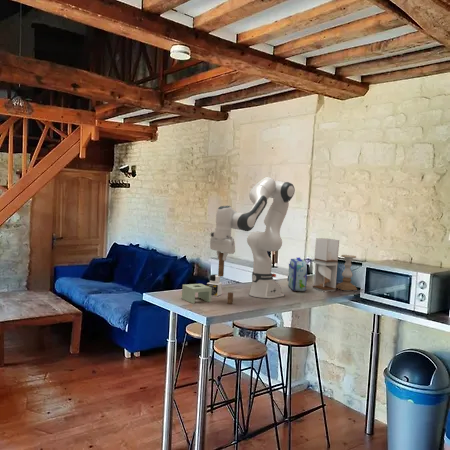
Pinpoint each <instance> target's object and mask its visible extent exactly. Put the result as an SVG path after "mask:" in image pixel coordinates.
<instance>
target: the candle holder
mask: <svg viewBox="0 0 450 450" xmlns="http://www.w3.org/2000/svg"><path fill="white" fill-rule="evenodd" d="M340 256H341V258H344V260H345V263H344V264H343V265H344V267H345V268H344V270H343V272H342V273H341V276H342V282H338V283H336V289H337V288H338V289H337V290H339V289H341V290H340V291H342V290H357V291H358V288H357V287H356V285H354V284H353V283H352V279H351V278H353V272H352V270H351V267H353V266H352V265H353V264H352V260H353V259H356V258H357V256H356V255H352V254H341V255H340Z"/></svg>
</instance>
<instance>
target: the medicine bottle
mask: <svg viewBox="0 0 450 450" xmlns="http://www.w3.org/2000/svg"><path fill="white" fill-rule="evenodd" d="M206 286H209V287H211V288H212V294H211V297H218V296H221V295H222V290H223V289H222V288H223V283H222V282H221V277H220V276H218V274H213V273H212V274H210V275H209V282H207V283H206Z"/></svg>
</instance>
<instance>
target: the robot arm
mask: <svg viewBox="0 0 450 450" xmlns="http://www.w3.org/2000/svg"><path fill="white" fill-rule="evenodd" d="M295 191H296V190H295V186H294V184H293V183H291V182H289V181H283V180H282V181H281V180H275V179H274V178H272V177H270V176H266V177H264V178H262V179H260V180H259V181H258V182H257V183H256V184H255V185H254V186H253V187H252V188H251V190H250V191H249V196H248V197H249V200H250V201H251V203H252V204H253V206H252V207H251V208H250V210H248V211H247V212H240V211H239V212H238V211H236V210H235V209H233V208H232V206H230V205H221V206H219V207H218V208H217V210H216V215H215V223H216V225H215V228H214V229H215V230H214V231H212V232H211V233H210V234H209V236H210V238H209V239H210V241H209V247H210V250H212V251H216V255H217V260H219V253H223V254H224V255H223V257H222V260H224V262H225V261H226V260H227V256H228V254H229V255H231V254H234V253H235V252H236V244H235V239H234V237H233V236H232V230H238V231H243V232H249V234H248V235H247V238H246V243H247V245H248V246H249V247H250V250H251V253H252V258H253V263H252V264H253V267H252V268H253V271H252V273H251V287H250V290H249V293H248V295H249V296H251V297H255V298H261V299H274V298H275V299H276V298H281V297H285V294H284V293H282V288H281V285H280V284H278V283H277V281H276V280H274V278H276V277H277V274H276V273H272V265H273V263H272V259H271V257H270V256H269V254H268V252H277V251H279V250H280V249H282V248H281V247H282V246H283V240H282V237H281V232H280V231H281V228H282V224H283V222H284V220H285V219H286V215H287V213H288V210H289V202H290V201H291V200H292V198H293V197H294V195H295V193H296V192H295ZM269 198H271V199H273V201H272V203H271V204H270V207H269V209H268V210H267V212H266V215H265V217H264V219H263V224H264V226H265V229H264V231H252V232H250V231H251V230H253V229H254V227H255V225H256V223H257V220H258V219H259V217H260V215H261V214H262V213H263V211H264V210H265V208H266V206H267V204H268V200H269Z"/></svg>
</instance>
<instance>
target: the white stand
mask: <svg viewBox="0 0 450 450" xmlns="http://www.w3.org/2000/svg"><path fill="white" fill-rule="evenodd" d="M339 247H340V239H335V238H325V237H324V238H323V237H321V238H320V237H319V238H317V237H316V238H315V246H314V248H315V249H314V259H313V261H314V262H313V263H314V279H313V285H312V287H311V288H312V289H313V290H315V291H319V292H322V291H323V293H326V292H325V291H331V292H336V289H337V288H336V285H337V277H338V276H337V274H338V262H339V261H338V260H339Z"/></svg>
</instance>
